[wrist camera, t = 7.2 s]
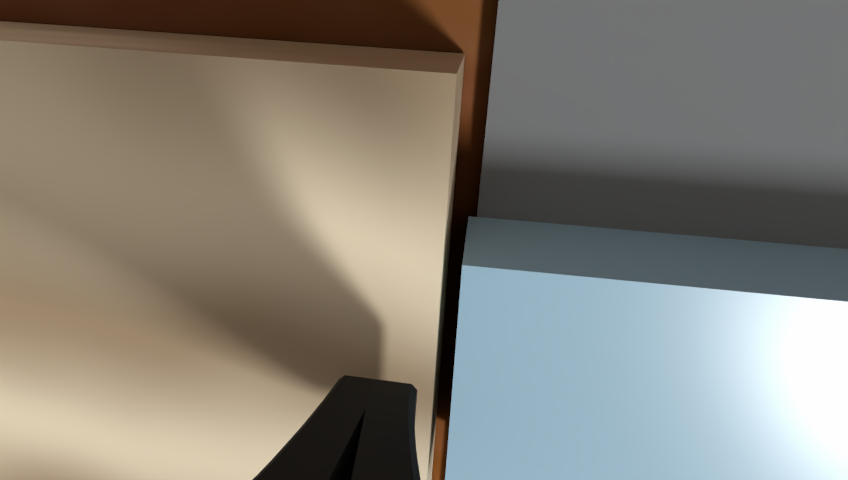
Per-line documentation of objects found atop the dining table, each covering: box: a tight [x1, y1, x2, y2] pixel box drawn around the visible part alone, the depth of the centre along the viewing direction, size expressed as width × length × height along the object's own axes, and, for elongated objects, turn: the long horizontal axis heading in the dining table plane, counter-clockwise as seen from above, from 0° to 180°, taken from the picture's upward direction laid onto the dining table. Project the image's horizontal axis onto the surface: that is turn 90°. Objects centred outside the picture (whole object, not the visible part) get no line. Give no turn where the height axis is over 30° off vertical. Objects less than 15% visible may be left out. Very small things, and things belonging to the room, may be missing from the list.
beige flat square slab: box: [0, 21, 465, 480], centre depth 12 cm, size 12×12×2 cm
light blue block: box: [445, 216, 848, 480], centre depth 11 cm, size 9×6×2 cm, turn 88°
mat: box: [477, 0, 848, 249], centre depth 11 cm, size 18×14×1 cm
